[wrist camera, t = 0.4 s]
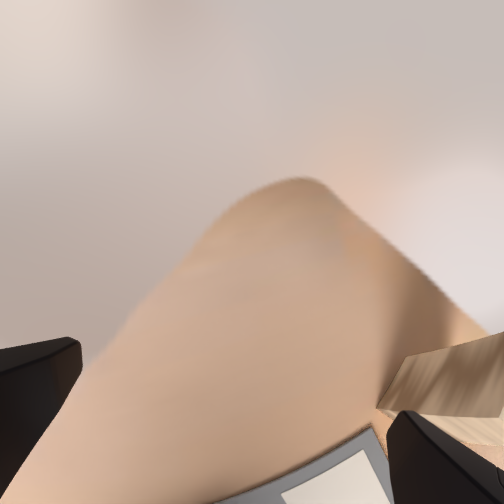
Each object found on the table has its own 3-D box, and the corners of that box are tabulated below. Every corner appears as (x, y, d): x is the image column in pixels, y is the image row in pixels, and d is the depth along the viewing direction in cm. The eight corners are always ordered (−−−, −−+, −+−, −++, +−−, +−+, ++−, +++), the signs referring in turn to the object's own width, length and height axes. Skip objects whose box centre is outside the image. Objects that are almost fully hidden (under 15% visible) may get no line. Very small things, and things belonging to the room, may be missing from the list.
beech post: (415, 433, 19) (535, 448, 7) (375, 408, 20) (498, 417, 8) (442, 384, 21) (561, 365, 9) (406, 356, 22) (528, 323, 10)
